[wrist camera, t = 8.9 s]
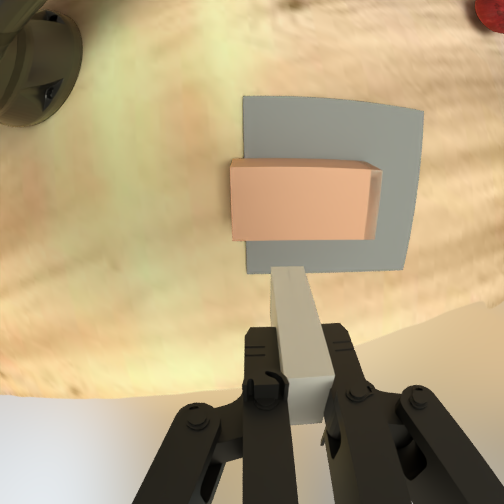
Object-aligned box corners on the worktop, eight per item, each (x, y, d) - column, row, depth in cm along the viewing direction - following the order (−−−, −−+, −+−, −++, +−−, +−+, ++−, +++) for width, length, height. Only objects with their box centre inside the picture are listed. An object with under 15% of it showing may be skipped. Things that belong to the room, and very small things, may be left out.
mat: (243, 96, 28) (243, 96, 28) (421, 111, 28) (423, 111, 28) (247, 271, 37) (246, 274, 37) (401, 267, 37) (402, 270, 37)
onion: (493, 43, 23) (533, 40, 16) (462, 21, 22) (502, 12, 15) (494, 11, 20) (531, 4, 13) (464, -11, 20) (500, -23, 13)
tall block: (229, 167, 26) (382, 170, 26) (233, 158, 31) (364, 161, 31) (232, 241, 29) (374, 239, 29) (235, 222, 34) (359, 221, 34)
